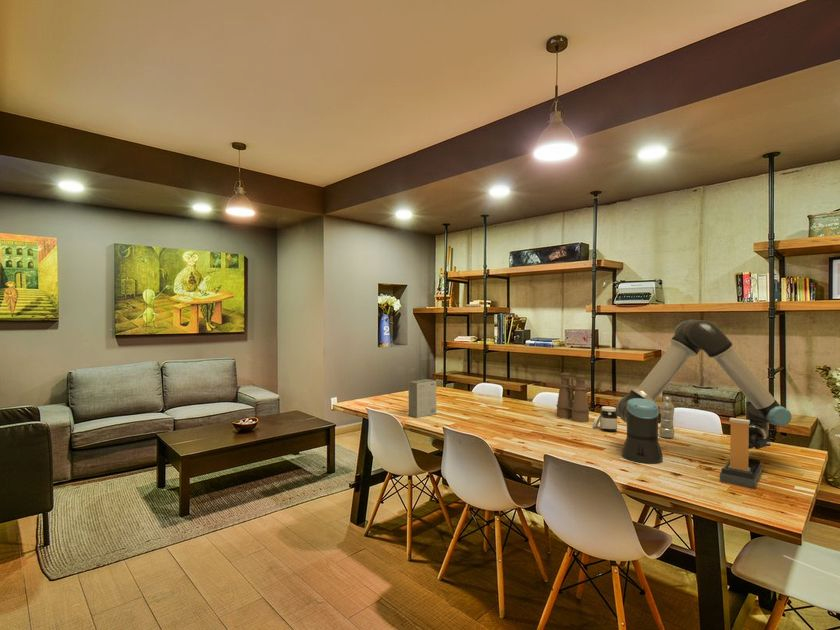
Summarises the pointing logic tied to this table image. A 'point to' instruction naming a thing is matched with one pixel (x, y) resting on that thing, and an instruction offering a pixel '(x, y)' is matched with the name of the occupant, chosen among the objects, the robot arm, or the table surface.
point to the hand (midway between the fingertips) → (743, 447)
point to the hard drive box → (422, 398)
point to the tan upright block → (739, 445)
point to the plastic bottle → (666, 418)
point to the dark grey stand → (742, 474)
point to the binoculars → (573, 399)
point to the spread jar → (607, 419)
